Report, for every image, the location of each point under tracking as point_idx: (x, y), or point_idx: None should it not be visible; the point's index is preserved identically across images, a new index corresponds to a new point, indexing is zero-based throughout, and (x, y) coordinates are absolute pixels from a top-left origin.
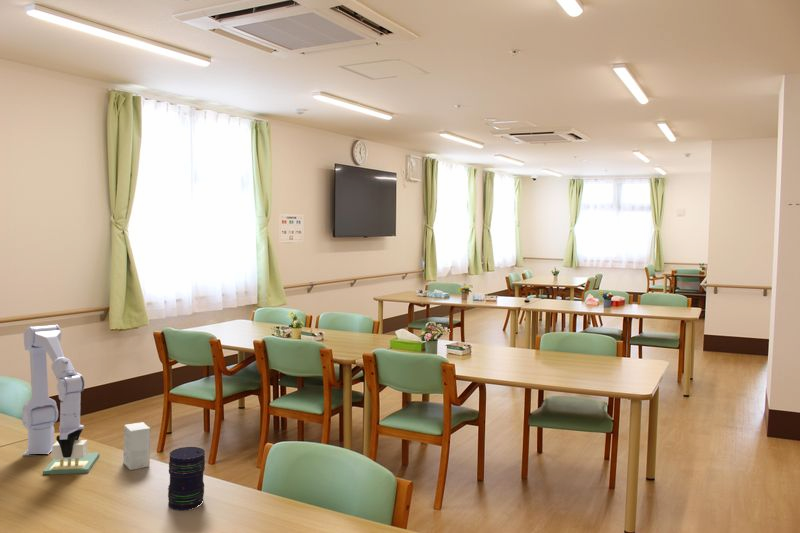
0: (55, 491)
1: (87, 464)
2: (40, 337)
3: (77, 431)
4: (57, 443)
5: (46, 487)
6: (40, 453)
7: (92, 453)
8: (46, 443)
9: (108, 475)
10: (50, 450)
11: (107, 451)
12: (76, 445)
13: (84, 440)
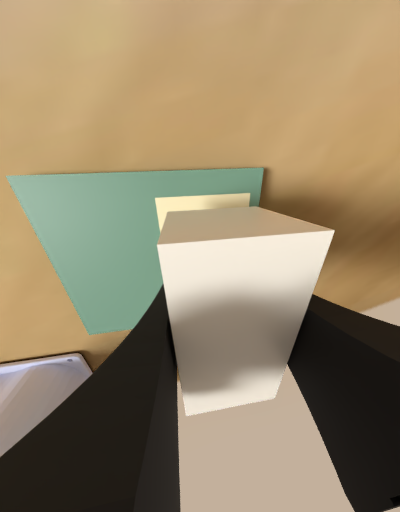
0: (378, 229)
1: (201, 189)
2: None
3: (157, 500)
4: (238, 396)
5: (336, 263)
6: (84, 370)
7: (38, 212)
8: (44, 400)
9: (318, 29)
10: (49, 362)
11: None
12: (308, 286)
13: (180, 266)
